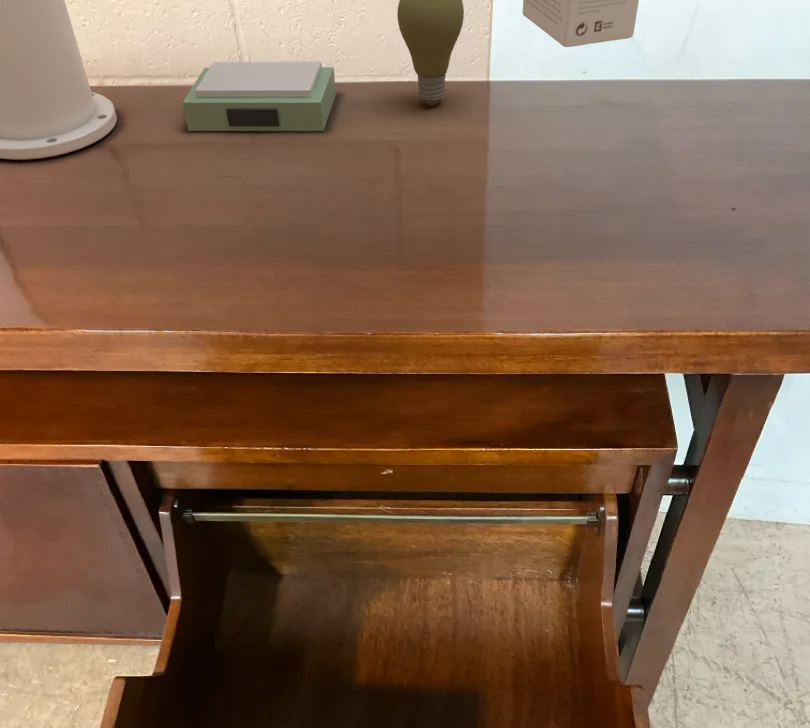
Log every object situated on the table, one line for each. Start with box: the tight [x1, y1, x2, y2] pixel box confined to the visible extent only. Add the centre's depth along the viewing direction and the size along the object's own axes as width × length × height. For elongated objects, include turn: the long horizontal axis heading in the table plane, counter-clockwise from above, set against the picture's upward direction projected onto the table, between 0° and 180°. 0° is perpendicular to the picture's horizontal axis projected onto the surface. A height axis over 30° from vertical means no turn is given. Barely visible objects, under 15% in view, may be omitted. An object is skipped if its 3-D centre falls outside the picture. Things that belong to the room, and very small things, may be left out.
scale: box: [181, 61, 337, 132], centre depth 75 cm, size 12×8×3 cm
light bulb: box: [396, 0, 465, 106], centre depth 72 cm, size 6×6×10 cm
